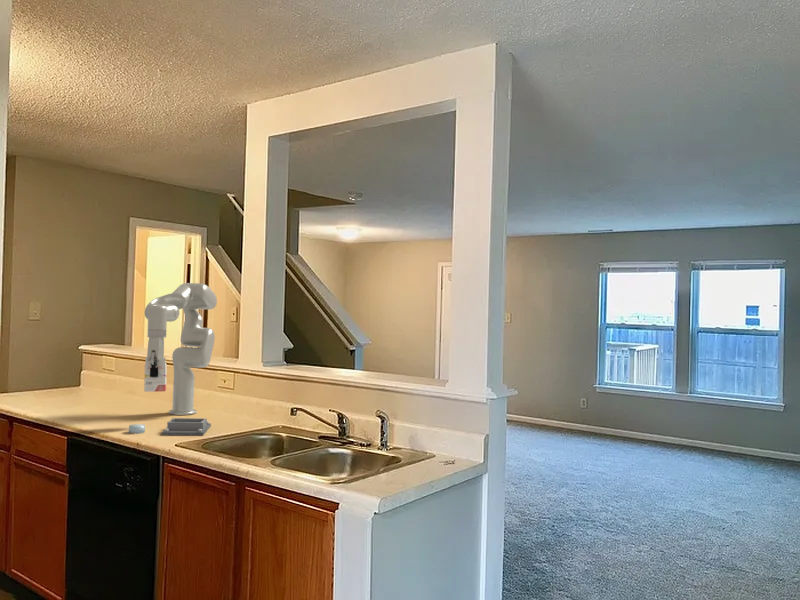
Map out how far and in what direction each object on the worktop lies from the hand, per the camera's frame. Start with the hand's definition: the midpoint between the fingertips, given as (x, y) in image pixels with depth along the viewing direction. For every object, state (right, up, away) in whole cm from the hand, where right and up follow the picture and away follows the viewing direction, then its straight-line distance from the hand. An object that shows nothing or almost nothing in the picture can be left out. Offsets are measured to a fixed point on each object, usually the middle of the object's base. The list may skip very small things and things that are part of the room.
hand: (155, 375), depth 271 cm
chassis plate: (+16, -22, -9) cm, 29 cm away
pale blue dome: (-2, -21, -15) cm, 26 cm away
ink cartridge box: (0, -7, 0) cm, 7 cm away
